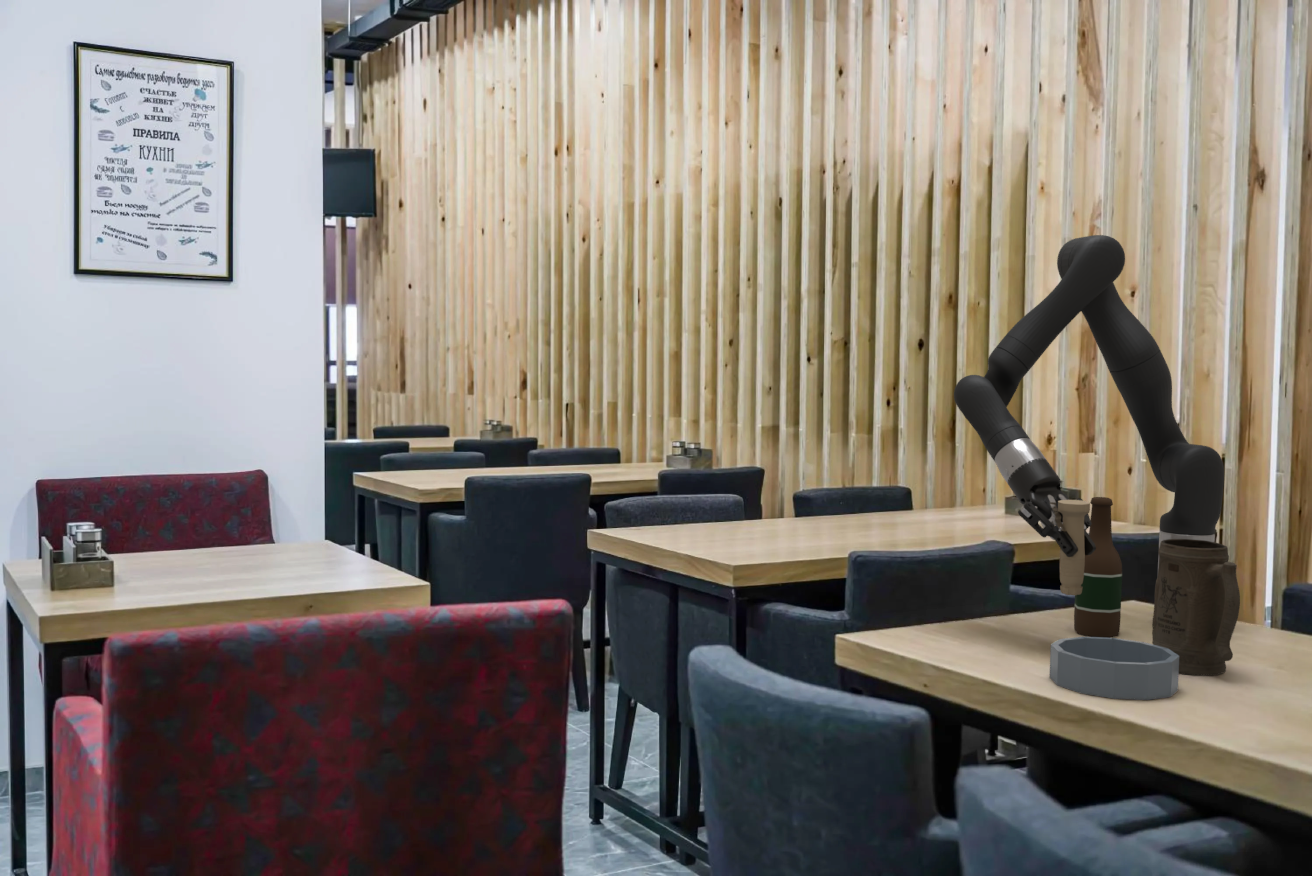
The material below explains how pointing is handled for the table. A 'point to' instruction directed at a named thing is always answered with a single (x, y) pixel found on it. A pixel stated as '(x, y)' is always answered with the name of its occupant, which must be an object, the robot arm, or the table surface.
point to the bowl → (1114, 668)
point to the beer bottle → (1100, 579)
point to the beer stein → (1196, 604)
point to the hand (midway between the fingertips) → (1082, 552)
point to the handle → (1075, 528)
